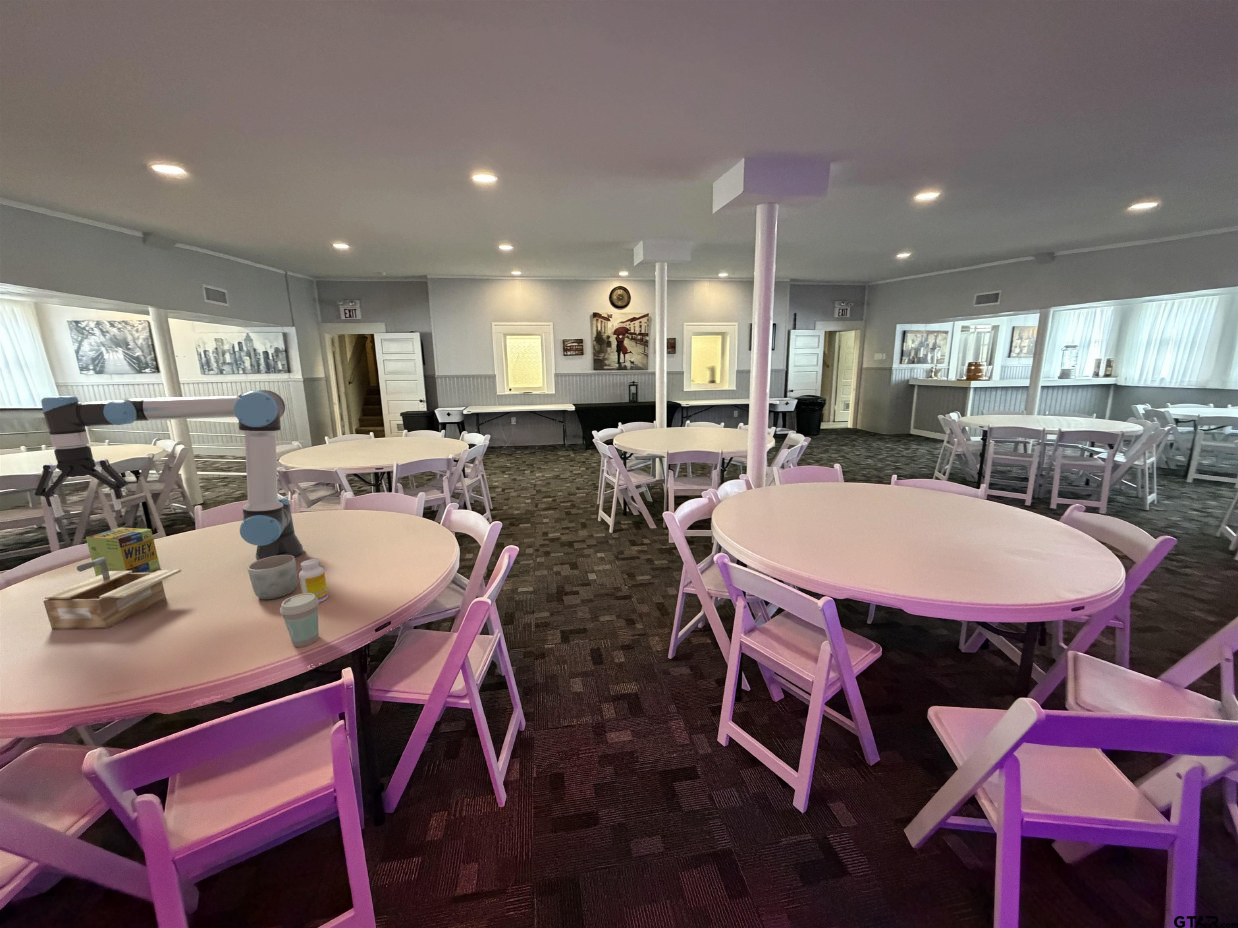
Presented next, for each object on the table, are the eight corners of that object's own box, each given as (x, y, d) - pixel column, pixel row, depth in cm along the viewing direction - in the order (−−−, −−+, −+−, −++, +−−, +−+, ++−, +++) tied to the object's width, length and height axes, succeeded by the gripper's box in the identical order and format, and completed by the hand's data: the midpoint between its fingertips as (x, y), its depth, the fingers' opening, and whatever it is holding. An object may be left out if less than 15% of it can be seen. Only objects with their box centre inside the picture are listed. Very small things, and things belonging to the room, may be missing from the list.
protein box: (128, 580, 168) (117, 538, 165) (95, 577, 171) (84, 536, 168) (161, 567, 178) (152, 528, 175) (129, 565, 181) (120, 526, 178)
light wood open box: (188, 597, 153) (182, 569, 151) (131, 628, 136) (123, 596, 134) (117, 599, 154) (109, 570, 152) (51, 629, 136) (41, 597, 134)
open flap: (45, 598, 134) (37, 574, 133) (110, 572, 151) (104, 550, 150) (69, 598, 134) (62, 574, 133) (132, 572, 151) (126, 550, 150)
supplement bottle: (333, 596, 152) (327, 558, 149) (314, 606, 145) (307, 567, 143) (318, 593, 154) (311, 556, 151) (298, 603, 148) (291, 564, 145)
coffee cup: (298, 633, 131) (291, 593, 128) (330, 631, 131) (324, 591, 129) (279, 651, 122) (271, 608, 120) (314, 649, 123) (306, 606, 121)
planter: (264, 606, 146) (257, 573, 144) (246, 597, 153) (240, 565, 151) (307, 590, 157) (302, 559, 154) (289, 581, 163) (283, 552, 161)
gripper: (131, 441, 155) (146, 503, 160) (21, 449, 144) (40, 515, 149) (121, 444, 149) (137, 509, 153) (4, 452, 138) (25, 522, 142)
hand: (89, 512), depth 151 cm, fingers open, 13 cm apart
